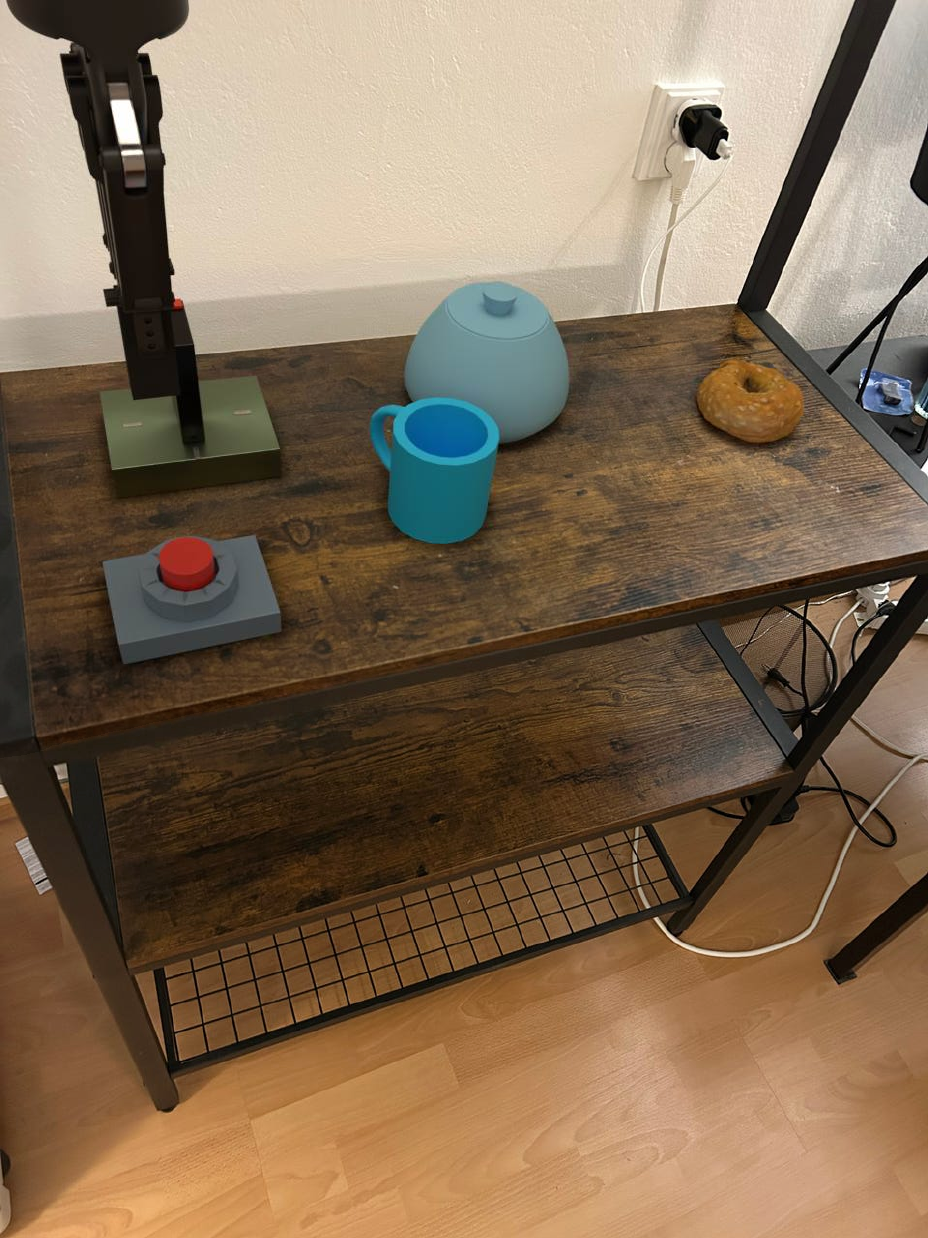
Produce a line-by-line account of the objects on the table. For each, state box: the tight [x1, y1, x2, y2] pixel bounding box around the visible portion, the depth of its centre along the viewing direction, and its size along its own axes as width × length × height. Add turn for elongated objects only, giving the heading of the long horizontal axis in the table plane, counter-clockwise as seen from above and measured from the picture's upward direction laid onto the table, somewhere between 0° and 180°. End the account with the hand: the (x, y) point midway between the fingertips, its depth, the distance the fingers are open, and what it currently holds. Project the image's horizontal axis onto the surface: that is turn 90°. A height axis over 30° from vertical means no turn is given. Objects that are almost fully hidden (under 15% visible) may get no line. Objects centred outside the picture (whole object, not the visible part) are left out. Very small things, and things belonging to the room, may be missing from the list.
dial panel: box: [98, 375, 282, 499], centre depth 80 cm, size 13×10×3 cm
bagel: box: [696, 358, 805, 444], centre depth 92 cm, size 10×11×5 cm
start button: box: [159, 536, 215, 592], centre depth 67 cm, size 4×4×2 cm
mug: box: [369, 397, 499, 545], centre depth 78 cm, size 12×8×8 cm
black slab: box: [171, 298, 205, 443], centre depth 76 cm, size 6×2×9 cm, turn 19°
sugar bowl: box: [403, 280, 570, 445], centre depth 86 cm, size 15×15×12 cm
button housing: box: [101, 534, 283, 665], centre depth 69 cm, size 11×8×4 cm
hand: (155, 389), depth 57 cm, fingers closed
